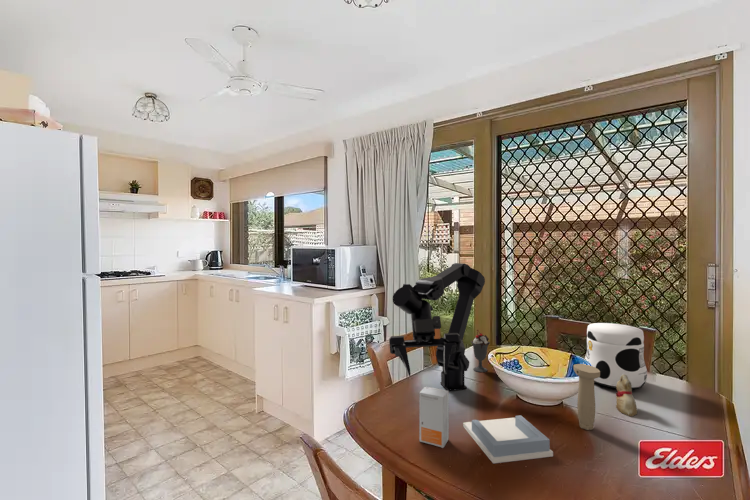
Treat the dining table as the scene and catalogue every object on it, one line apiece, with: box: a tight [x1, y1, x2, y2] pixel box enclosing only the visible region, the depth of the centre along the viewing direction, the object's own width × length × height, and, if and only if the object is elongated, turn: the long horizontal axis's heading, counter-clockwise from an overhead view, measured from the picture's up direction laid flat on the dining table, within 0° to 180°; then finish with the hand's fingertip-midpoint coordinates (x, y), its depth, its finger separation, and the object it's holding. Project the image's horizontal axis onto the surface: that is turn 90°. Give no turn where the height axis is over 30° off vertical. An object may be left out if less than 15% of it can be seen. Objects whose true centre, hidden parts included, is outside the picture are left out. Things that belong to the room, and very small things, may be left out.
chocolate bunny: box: [615, 375, 638, 417], centre depth 104 cm, size 6×8×10 cm
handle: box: [573, 363, 600, 431], centre depth 94 cm, size 5×6×15 cm
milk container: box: [584, 322, 648, 390], centre depth 122 cm, size 17×17×18 cm
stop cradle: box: [462, 414, 554, 464], centre depth 89 cm, size 16×14×4 cm
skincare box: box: [418, 386, 450, 449], centre depth 89 cm, size 6×4×12 cm
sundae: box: [470, 329, 491, 373], centre depth 136 cm, size 7×7×15 cm
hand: (427, 374), depth 97 cm, fingers open, 9 cm apart
